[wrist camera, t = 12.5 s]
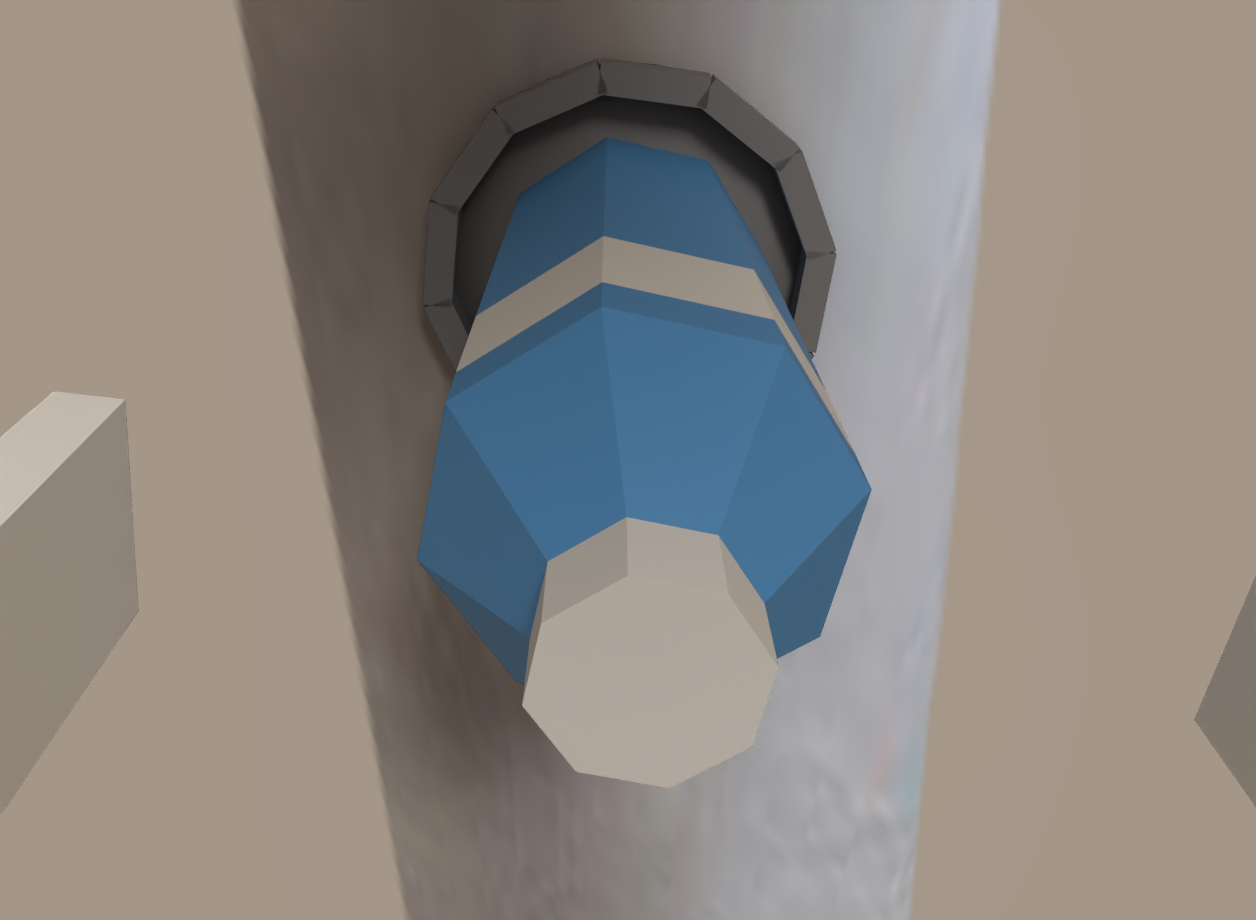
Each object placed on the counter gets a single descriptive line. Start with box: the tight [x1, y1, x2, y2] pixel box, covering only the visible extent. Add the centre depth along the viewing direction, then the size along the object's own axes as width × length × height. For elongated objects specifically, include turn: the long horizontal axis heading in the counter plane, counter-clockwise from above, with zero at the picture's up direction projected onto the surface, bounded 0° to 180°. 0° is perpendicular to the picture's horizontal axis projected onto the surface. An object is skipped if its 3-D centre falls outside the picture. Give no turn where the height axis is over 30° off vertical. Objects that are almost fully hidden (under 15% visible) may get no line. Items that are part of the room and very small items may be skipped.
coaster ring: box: [423, 58, 836, 371], centre depth 41 cm, size 14×14×2 cm
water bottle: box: [418, 137, 871, 788], centre depth 30 cm, size 9×9×25 cm
